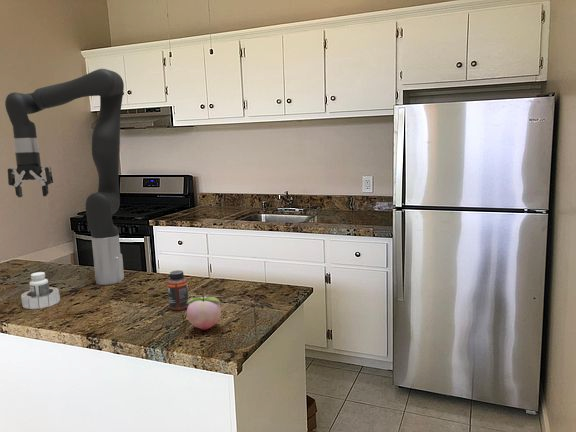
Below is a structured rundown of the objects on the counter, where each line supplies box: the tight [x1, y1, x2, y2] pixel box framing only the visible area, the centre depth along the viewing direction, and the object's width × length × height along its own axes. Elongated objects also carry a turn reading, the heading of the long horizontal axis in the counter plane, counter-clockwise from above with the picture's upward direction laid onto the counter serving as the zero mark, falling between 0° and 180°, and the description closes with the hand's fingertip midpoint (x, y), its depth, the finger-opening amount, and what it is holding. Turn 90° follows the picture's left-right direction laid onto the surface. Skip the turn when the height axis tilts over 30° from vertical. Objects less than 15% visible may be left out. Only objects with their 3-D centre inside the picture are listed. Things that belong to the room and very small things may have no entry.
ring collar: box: [20, 286, 61, 310], centre depth 148 cm, size 10×10×4 cm
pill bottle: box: [28, 271, 50, 297], centre depth 148 cm, size 5×5×10 cm
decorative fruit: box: [186, 293, 222, 330], centre depth 124 cm, size 9×8×10 cm
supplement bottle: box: [167, 270, 190, 311], centre depth 141 cm, size 6×6×11 cm
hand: (32, 196), depth 166 cm, fingers open, 8 cm apart
